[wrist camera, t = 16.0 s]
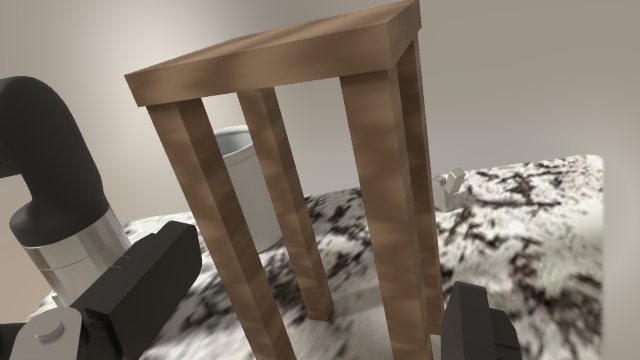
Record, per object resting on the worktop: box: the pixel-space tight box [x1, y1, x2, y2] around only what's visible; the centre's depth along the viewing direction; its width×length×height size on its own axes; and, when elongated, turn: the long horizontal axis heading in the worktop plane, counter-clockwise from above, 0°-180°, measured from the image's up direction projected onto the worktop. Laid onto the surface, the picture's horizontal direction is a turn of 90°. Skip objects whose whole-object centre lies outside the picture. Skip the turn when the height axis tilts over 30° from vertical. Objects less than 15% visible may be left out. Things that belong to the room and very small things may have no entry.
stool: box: [124, 0, 445, 360], centre depth 31 cm, size 16×13×32 cm
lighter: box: [432, 168, 466, 213], centre depth 57 cm, size 7×2×8 cm, turn 23°
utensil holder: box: [213, 125, 283, 253], centre depth 61 cm, size 15×15×18 cm
